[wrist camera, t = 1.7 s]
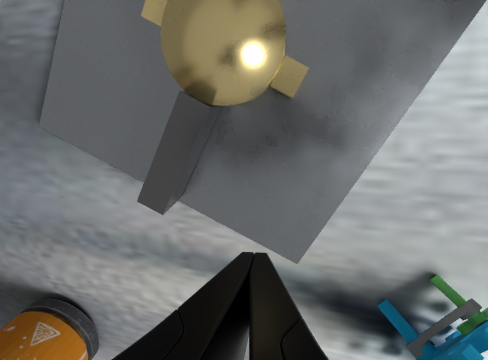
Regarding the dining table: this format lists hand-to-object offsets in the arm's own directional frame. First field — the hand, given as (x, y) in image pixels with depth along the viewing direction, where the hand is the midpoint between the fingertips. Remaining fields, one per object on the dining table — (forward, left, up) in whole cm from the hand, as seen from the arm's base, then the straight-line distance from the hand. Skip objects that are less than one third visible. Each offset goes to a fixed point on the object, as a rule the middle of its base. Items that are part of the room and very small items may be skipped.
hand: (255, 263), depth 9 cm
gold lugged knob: (-3, -6, -11) cm, 13 cm away
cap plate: (-6, -6, -12) cm, 15 cm away
